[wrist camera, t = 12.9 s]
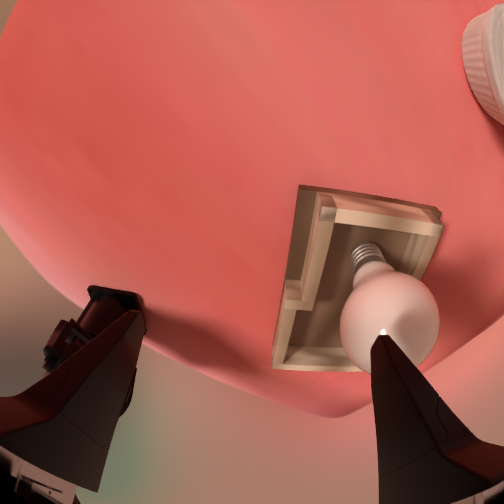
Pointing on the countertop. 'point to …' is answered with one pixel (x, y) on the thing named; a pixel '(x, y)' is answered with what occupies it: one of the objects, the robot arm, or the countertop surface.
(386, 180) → the countertop surface
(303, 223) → the wooden tray
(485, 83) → the ramekin
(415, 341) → the lightbulb
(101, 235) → the countertop surface
